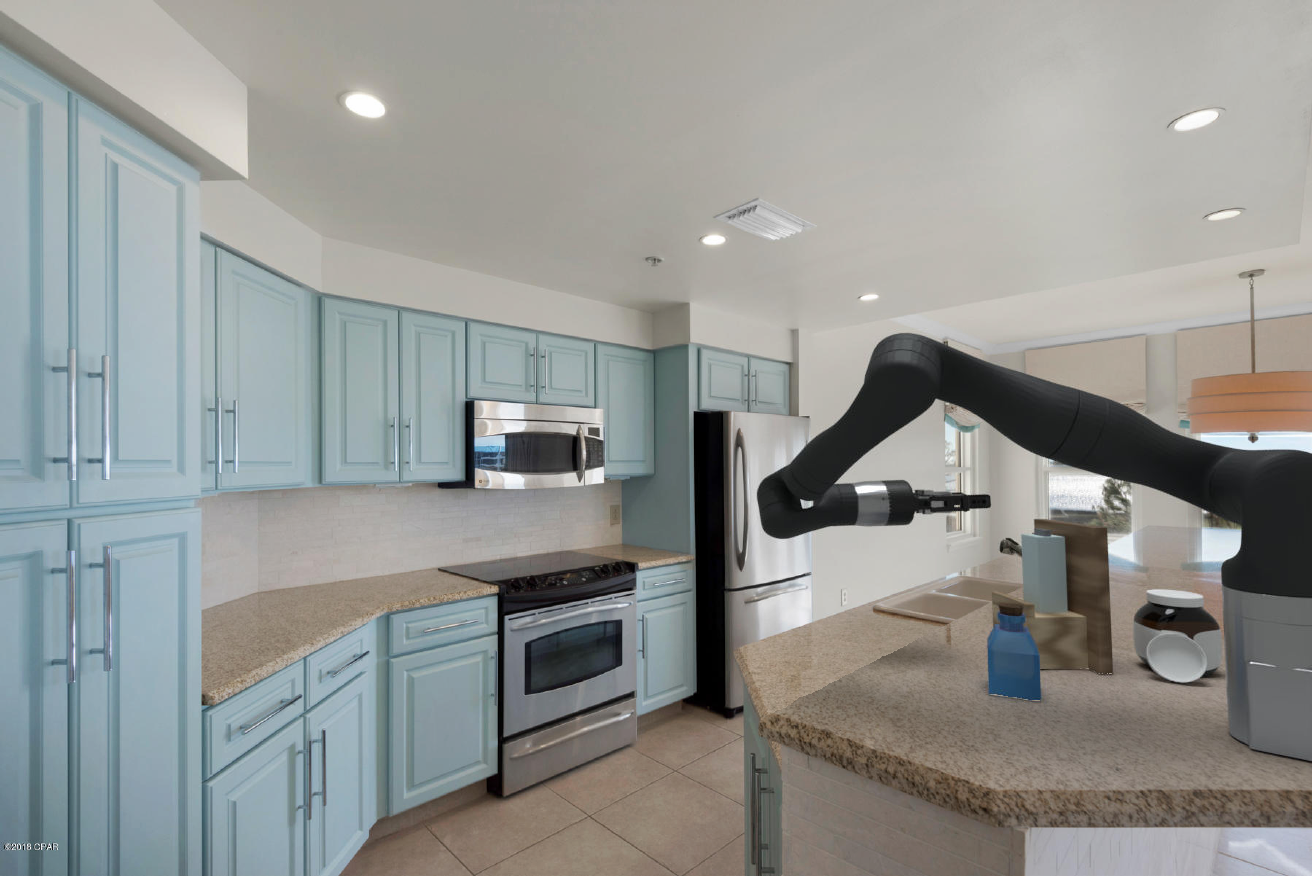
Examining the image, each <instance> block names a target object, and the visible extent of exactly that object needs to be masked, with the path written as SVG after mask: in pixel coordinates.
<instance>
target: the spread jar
mask: <svg viewBox="0 0 1312 876" xmlns="http://www.w3.org/2000/svg"><path fill="white" fill-rule="evenodd" d="M1204 599H1205V598H1204V596H1203V595H1202V594H1199V593H1195V592H1191V591H1185V590H1175V589H1160V588H1158V589H1149V590H1148V589H1147V590H1146V601H1147V602H1146V603H1145V604H1143V605H1141V607H1139V609H1137V611H1136V612H1135V613H1134V617H1133V623H1132V625H1133V626H1132V627H1133V629H1132V630H1133V645H1134V650H1135V652H1136V655H1137V656H1138V658H1139V659H1140V660H1141V661H1142V663H1144V664H1145V665H1146V666H1148V667H1149V668H1150V667H1151V668H1150V669H1151V670H1153V672H1155V674H1157V675H1158V676H1160V677H1161V678H1162V679H1165V680H1166V681H1170V682H1172V681H1174V682H1173V683H1178V682H1179V683H1180V684H1185V683H1191V682H1195V681H1197V680H1198V679H1200V677H1201V678H1206V677H1208V676H1210V675H1213V674H1214V673H1215V672H1216V671H1217V670H1219V668H1220V666H1221V664H1222V659H1223V642H1222V639H1223V638H1222V631H1221V627H1220V624H1219V622H1218V621H1217V619H1216V618H1215V617H1214V616H1213V615H1212V614H1211V613H1209V612H1208V610H1206V609H1205V608H1204V605H1205V600H1204ZM1205 676H1206V677H1205Z"/></svg>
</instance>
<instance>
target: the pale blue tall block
mask: <svg viewBox="0 0 1312 876" xmlns="http://www.w3.org/2000/svg"><path fill="white" fill-rule="evenodd" d="M1033 531H1034V532H1033V533H1029V534H1028V533H1021V535H1020V536H1021V537H1020V538H1021V565H1022V566H1021V567H1022V590H1023V591H1022V594H1023V596H1022V597H1023V600H1024V601H1026V602H1029V603H1032V604H1034V605H1035V611H1036V612H1039V613H1068V609H1067V583H1066V556H1065V537H1062V536H1056V535H1051V530H1046V529H1033Z"/></svg>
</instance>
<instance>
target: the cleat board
mask: <svg viewBox="0 0 1312 876" xmlns="http://www.w3.org/2000/svg"><path fill="white" fill-rule="evenodd" d="M1033 525H1034V526H1033V527H1034V529H1046V530H1051V535H1056V536H1062V537H1065V556H1066V583H1067V609H1068V613H1039V612H1036V611H1035V605H1034V604H1032V603H1029V602H1026V601H1024V599H1020V598H1018V597H1016V596H1012V595H1010V594H1007V593H1004V592H1001V591H996V590H995V591H991V606H992V607H991V608H992V628H993V627H994V626H995V624H1000V621H999V620H998V619H997V612H999V611H1000V609H999V605H998V604H999V603H1016V604H1021V605H1023V606H1024V608H1023V612H1022V613H1023V614H1025V621H1026V622H1025V623H1023V627H1027V628H1028V630H1029V631H1030V633H1031V635H1032V637H1033V639H1034V641H1035V642H1036V645H1037V648H1038V652H1039V655H1040V669H1072V670H1081V669H1080V668H1084V669H1083V670H1087V669H1086V668H1089V669H1090V670H1089V669H1088V670H1089V671H1091V670H1093V671H1095V672H1097V673H1100V674H1102V673H1103V674H1107V673H1108V674H1109V673H1112V674H1113V675H1114V666H1113V665H1114V664H1113V662H1114V661H1113V660H1114V659H1113V642H1112V641H1113V640H1112V638H1113V637H1112V615H1111V613H1112V612H1111V609H1112V608H1111V591H1110V589H1111V588H1110V567H1109V566H1110V564H1109V563H1110V562H1109V560H1110V559H1109V541H1108V540H1109V539H1108V537H1109V536H1108V527H1105V526H1098V525H1093V524H1092V525H1091V524H1084V523H1076V522H1070V521H1065V520H1063V521H1062V520H1055V519H1049V518H1034V519H1033ZM1034 529H1033V530H1034ZM1093 671H1092V672H1093ZM1095 672H1094V673H1095ZM1097 673H1096V674H1097ZM1100 674H1099V675H1100Z"/></svg>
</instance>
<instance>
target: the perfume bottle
mask: <svg viewBox="0 0 1312 876" xmlns="http://www.w3.org/2000/svg"><path fill="white" fill-rule="evenodd" d="M998 605H999V609H1000V611H999V612H997V619H998V620H999V621H1000V624H995V626H994V627H993V626H992V629H991V631H990V632H989V635H988V636H987V638H986V641H987V644H986V645H987V649H986V650H987V672H988V675H987V677H988V678H987V679H988V681H987V683H988V695H989V694H997V695H1003V696H1008V697H1017V698H1022V699H1028V700H1041V701H1042V688H1041V687H1042V686H1041V685H1042V683H1041V670H1040V655H1039V652H1038V648H1037V645H1036V642H1035V641H1034V639H1033V637H1032V635H1031V633H1030V631H1029V630H1028V628H1027V627H1023V623H1025V622H1026V621H1025V614H1023V613H1022V612H1023V608H1024V606H1023V605H1021V604H1016V603H999V604H998ZM1028 700H1027V701H1028Z"/></svg>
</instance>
